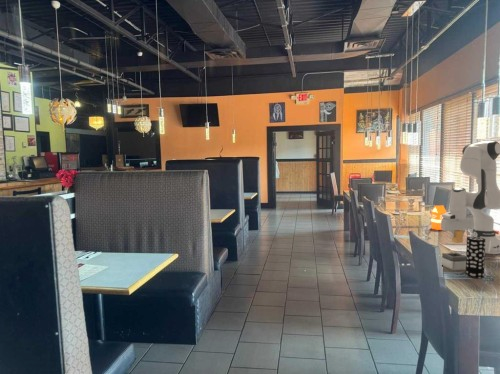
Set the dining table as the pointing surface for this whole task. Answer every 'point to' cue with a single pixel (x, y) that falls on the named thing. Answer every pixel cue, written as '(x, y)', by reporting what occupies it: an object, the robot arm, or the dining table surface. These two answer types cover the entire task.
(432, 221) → the orange juice
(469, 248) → the white-spotted black cylinder
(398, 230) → the dining table surface
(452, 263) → the bay
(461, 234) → the plug
